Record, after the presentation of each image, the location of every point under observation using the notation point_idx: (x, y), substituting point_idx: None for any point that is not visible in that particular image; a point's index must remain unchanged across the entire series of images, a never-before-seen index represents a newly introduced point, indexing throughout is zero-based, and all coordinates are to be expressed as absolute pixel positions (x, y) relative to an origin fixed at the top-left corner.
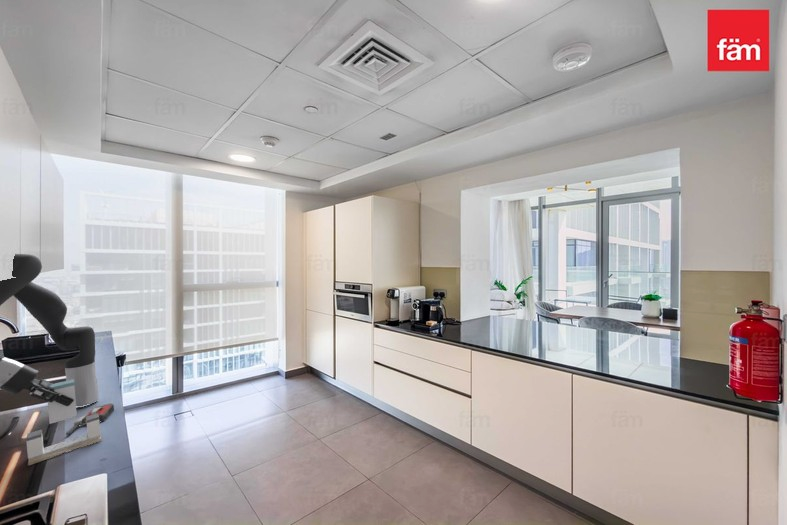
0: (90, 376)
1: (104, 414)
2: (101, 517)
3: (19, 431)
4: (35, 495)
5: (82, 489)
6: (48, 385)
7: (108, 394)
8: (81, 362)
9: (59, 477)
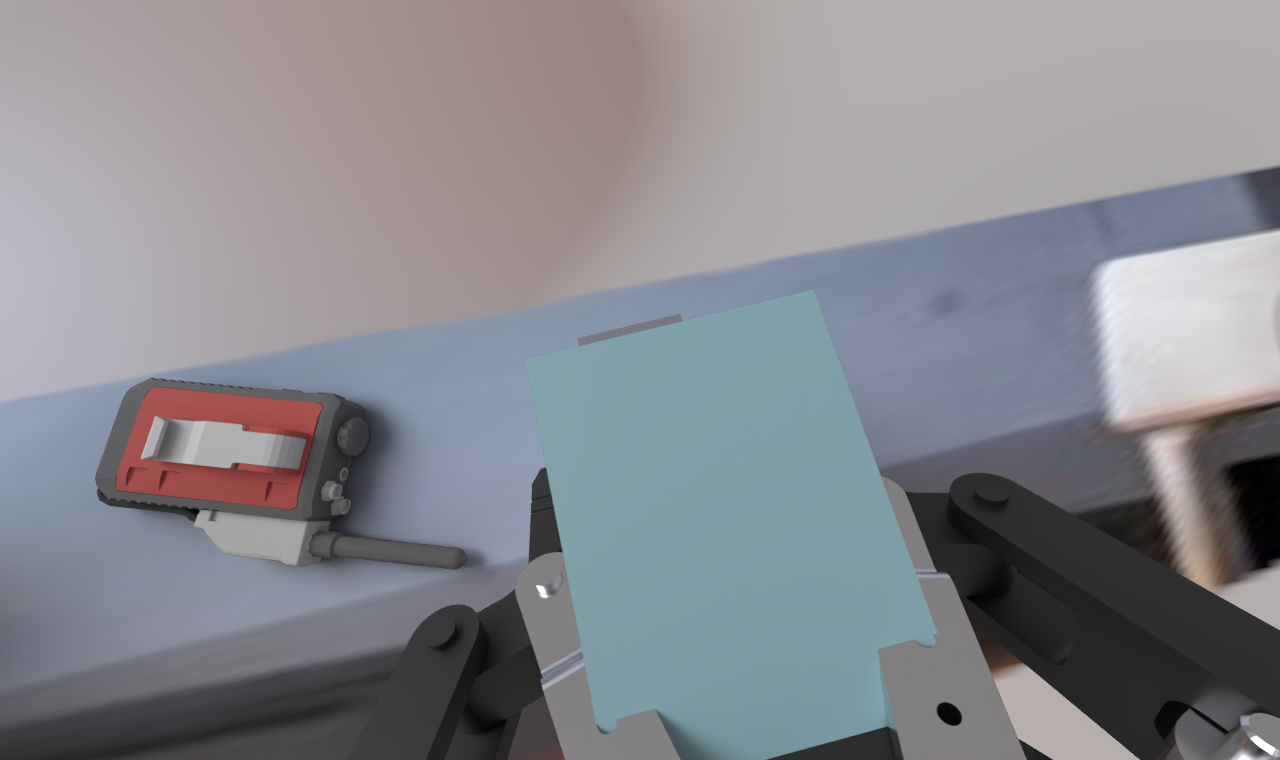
0: None
1: (327, 395)
2: None
3: None
4: (1162, 501)
5: (1207, 324)
6: (937, 721)
7: None
8: None
9: (1031, 449)
